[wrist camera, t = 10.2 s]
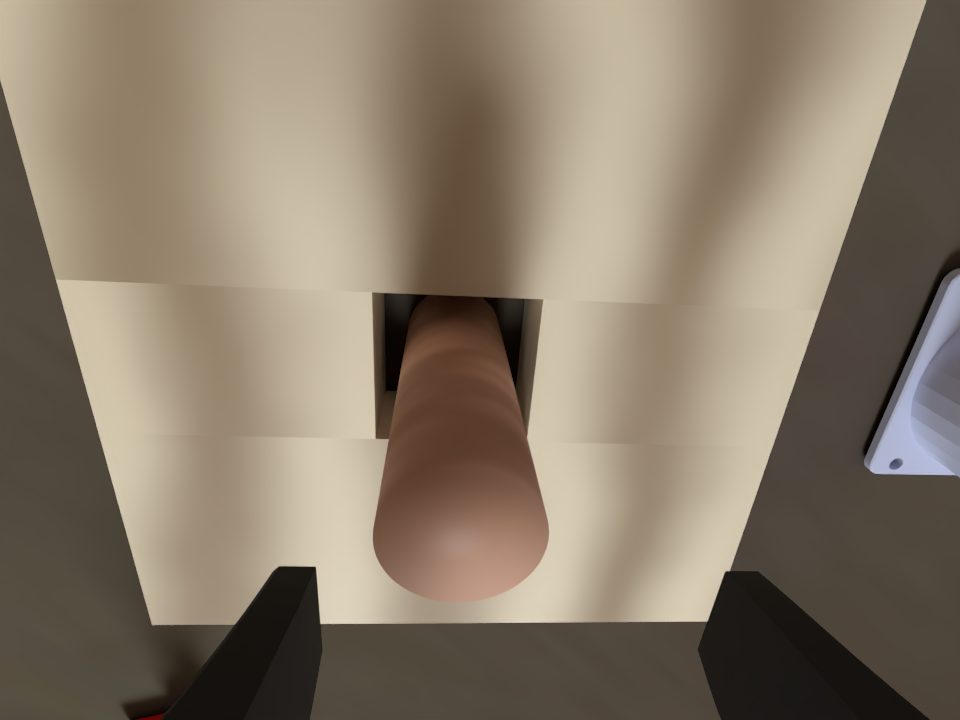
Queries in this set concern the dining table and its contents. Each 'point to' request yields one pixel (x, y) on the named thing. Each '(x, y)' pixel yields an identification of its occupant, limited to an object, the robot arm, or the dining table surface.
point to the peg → (458, 462)
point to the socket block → (443, 265)
